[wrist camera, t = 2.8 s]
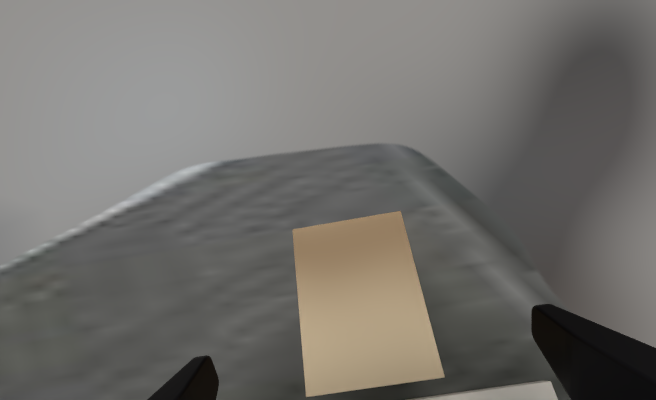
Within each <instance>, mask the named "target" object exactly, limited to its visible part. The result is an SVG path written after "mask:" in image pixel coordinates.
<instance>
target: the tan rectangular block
mask: <svg viewBox="0 0 656 400" xmlns="http://www.w3.org/2000/svg"><path fill="white" fill-rule="evenodd" d="M293 241H294V254H295V266H296V278H297V290H298V303H299V315H300V327H301V340H302V352H303V364H304V376H305V389H306V397H310V396H317V395H324V394H332V393H339V392H346V391H353V390H360V389H367V388H374V387H381V386H388V385H395V384H402V383H409V382H416V381H423V380H430V379H437V378H444V377H445V376H444V372H443V369H442V365H441V361H440V357H439V354H438V350H437V346H436V342H435V339H434V335H433V331H432V327H431V324H430V320H429V316H428V312H427V308H426V305H425V301H424V297H423V293H422V290H421V286H420V282H419V278H418V275H417V271H416V267H415V263H414V260H413V256H412V252H411V248H410V245H409V241H408V237H407V233H406V230H405V226H404V222H403V218H402V215H401V211H397V212H391V213H386V214H380V215H374V216H368V217H362V218H357V219H351V220H345V221H339V222H334V223H328V224H322V225H316V226H311V227H305V228H299V229H293Z"/></svg>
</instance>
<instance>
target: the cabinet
mask: <svg viewBox="0 0 656 400" xmlns="http://www.w3.org/2000/svg"><path fill="white" fill-rule="evenodd" d="M407 400H558V398H557V396H556V393H555V391H554V389H553V386H552V384H551V381H536V382H529V383H522V384H514V385H507V386H500V387H493V388H486V389H478V390H471V391H464V392H457V393H450V394H443V395H435V396H428V397H421V398H414V399H407Z"/></svg>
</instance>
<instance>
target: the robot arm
mask: <svg viewBox="0 0 656 400" xmlns="http://www.w3.org/2000/svg"><path fill="white" fill-rule="evenodd" d="M532 335H533V338H534V340H535V342H536V343H537V345H538V347H539V348H540V350H541V352H542V353H543V355H544V357H545V358H546V360H547V361H548V363H549V365H550V366H551V368H552V370H553V371H554V373H555V375H556V376H557V378H558V379H559V381H560V383H561V384H562V386H563V388H564V389H565V391H566V392H567V394H568V395H569V397H570V398H571V400H656V348H654V347H652V346H649V345H647V344H645V343H642V342H640V341H638V340H635V339H633V338H630V337H628V336H625V335H623V334H621V333H619V332H616V331H613V330H611V329H609V328H606V327H604V326H602V325H599V324H597V323H595V322H592V321H590V320H587V319H585V318H583V317H580V316H578V315H575V314H573V313H571V312H568V311H566V310H564V309H561V308H559V307H556V306H554V305H551V304H542V305H536V306H534V307H533V308H532ZM218 386H219V380H218V376H217V373H216V370H215V367H214V365H213V362H212V359H211V358H210V356H200V357H195V358H193V359H192V360H191V361H190V362H189V363H188V364H187V365H185V366H184V367H183V368H182V369H181V370H180V371H179V372H178V373H176V374H175V375H174V376H173V377H172V378H171V379H170V380H169V381H168V382H166V383H165V384H164V385H163V386H162V387H161V388H160V389H159V390H158V391H156V392H155V393H154V394H153V395H152V396H151V397H150V398H149V399H147V400H216V396H217V391H218Z"/></svg>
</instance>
